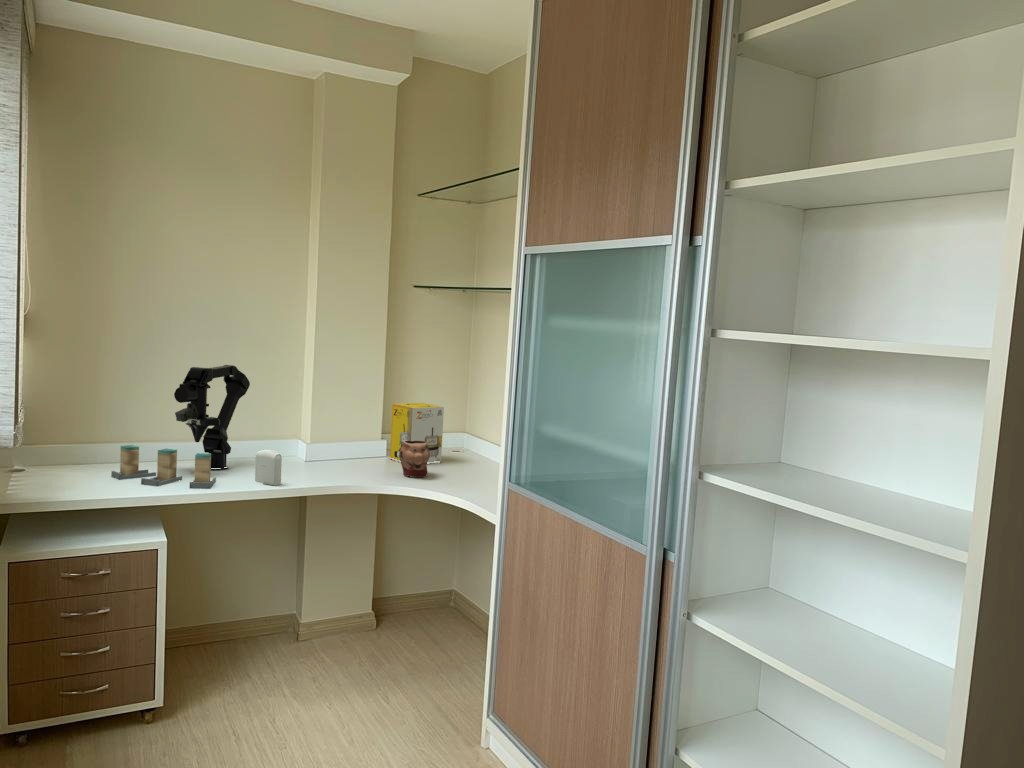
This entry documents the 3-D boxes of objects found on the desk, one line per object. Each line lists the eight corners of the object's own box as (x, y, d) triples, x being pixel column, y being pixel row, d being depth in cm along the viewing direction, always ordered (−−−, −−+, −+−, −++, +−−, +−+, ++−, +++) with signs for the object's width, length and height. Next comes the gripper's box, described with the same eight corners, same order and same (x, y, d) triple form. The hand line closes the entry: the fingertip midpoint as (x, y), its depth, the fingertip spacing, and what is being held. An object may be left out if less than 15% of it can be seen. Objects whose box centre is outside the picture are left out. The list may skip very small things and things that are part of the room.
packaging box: (410, 466, 350) (413, 407, 348) (389, 459, 362) (392, 403, 360) (441, 463, 360) (443, 407, 359) (419, 457, 373) (422, 402, 371)
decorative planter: (391, 470, 337) (393, 437, 336) (420, 470, 342) (422, 437, 341) (406, 480, 319) (407, 445, 318) (435, 479, 324) (437, 444, 323)
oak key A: (132, 474, 297) (133, 444, 296) (138, 476, 294) (139, 446, 293) (120, 476, 294) (120, 445, 293) (125, 478, 291) (126, 447, 290)
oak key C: (196, 483, 288) (197, 453, 287) (210, 484, 289) (210, 453, 288) (194, 486, 284) (195, 455, 283) (208, 486, 285) (208, 455, 284)
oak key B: (165, 478, 294) (166, 448, 293) (176, 480, 293) (177, 449, 292) (157, 481, 289) (157, 450, 288) (168, 482, 288) (168, 451, 287)
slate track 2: (165, 479, 296) (165, 472, 295) (182, 481, 294) (182, 474, 294) (141, 485, 283) (141, 478, 283) (158, 487, 281) (158, 480, 281)
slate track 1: (147, 474, 302) (147, 467, 302) (156, 477, 298) (156, 470, 298) (111, 477, 292) (111, 470, 292) (119, 481, 288) (120, 474, 288)
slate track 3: (196, 481, 294) (196, 475, 294) (215, 482, 295) (216, 475, 295) (189, 489, 281) (189, 482, 281) (210, 490, 283) (210, 482, 282)
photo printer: (252, 482, 299) (254, 449, 298) (261, 480, 303) (262, 447, 302) (274, 486, 294) (275, 452, 293) (282, 484, 298) (283, 451, 297)
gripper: (164, 399, 304) (162, 440, 305) (194, 404, 294) (193, 447, 295) (190, 398, 314) (189, 438, 315) (221, 403, 303) (219, 444, 304)
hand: (197, 442), depth 307 cm, fingers closed
